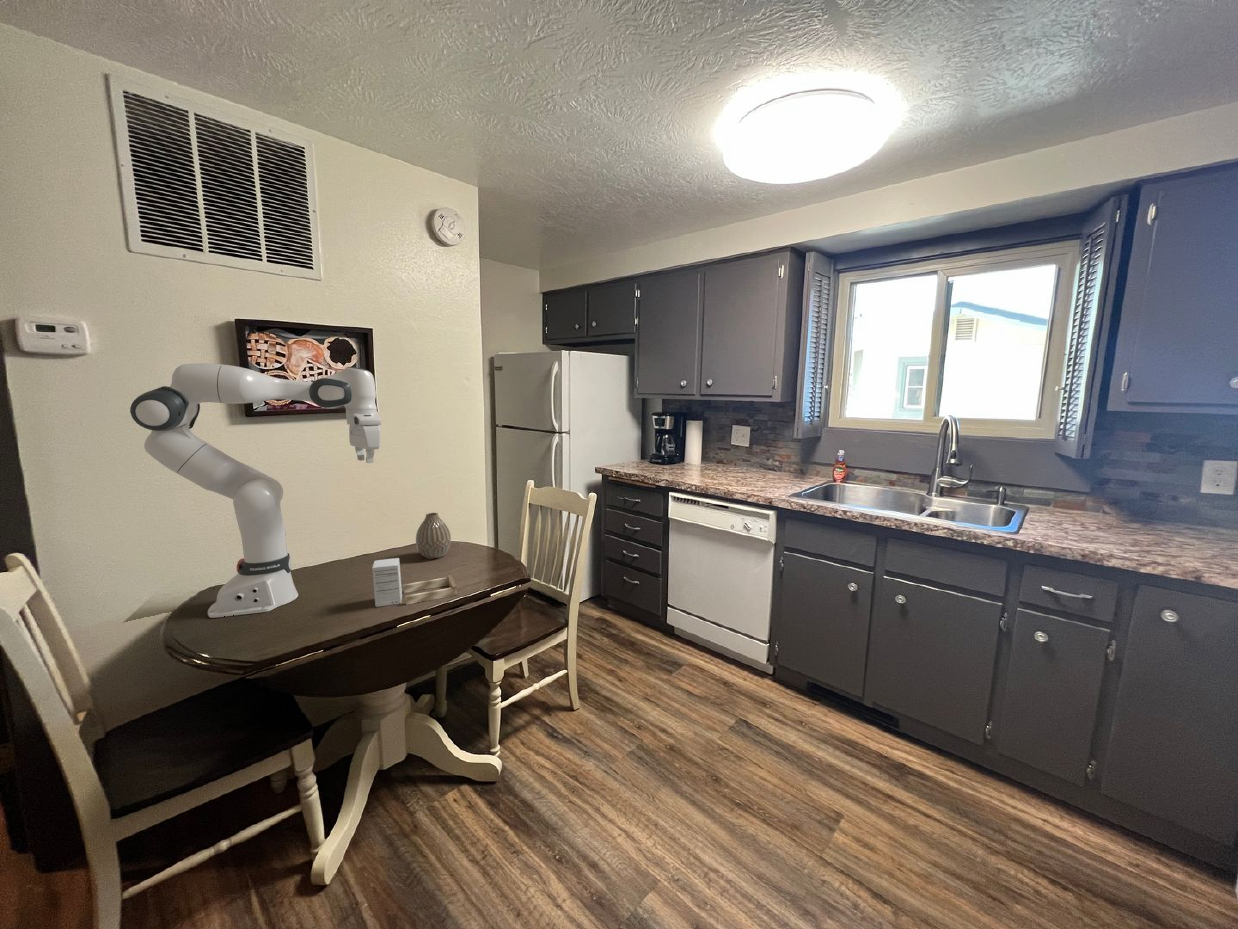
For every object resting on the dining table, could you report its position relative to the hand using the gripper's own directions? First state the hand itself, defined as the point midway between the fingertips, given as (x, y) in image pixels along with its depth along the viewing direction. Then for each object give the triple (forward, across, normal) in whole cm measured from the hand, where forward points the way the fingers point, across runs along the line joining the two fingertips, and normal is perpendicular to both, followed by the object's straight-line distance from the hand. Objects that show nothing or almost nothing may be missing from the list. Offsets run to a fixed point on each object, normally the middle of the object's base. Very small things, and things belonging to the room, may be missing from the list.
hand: (365, 461), depth 158 cm
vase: (+43, -18, +28) cm, 54 cm away
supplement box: (+43, +15, 0) cm, 45 cm away
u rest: (+43, +18, +11) cm, 47 cm away
